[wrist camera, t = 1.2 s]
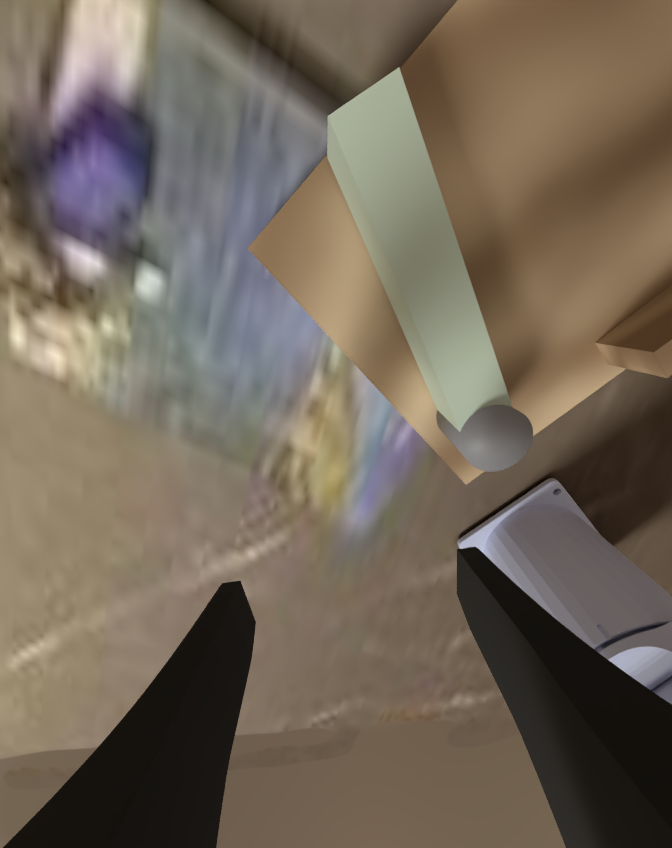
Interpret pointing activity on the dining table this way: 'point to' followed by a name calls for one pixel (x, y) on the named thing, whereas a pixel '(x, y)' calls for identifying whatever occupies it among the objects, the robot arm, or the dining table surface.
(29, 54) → the dining table surface
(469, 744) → the dining table surface
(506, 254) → the stool seat
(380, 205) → the leg
